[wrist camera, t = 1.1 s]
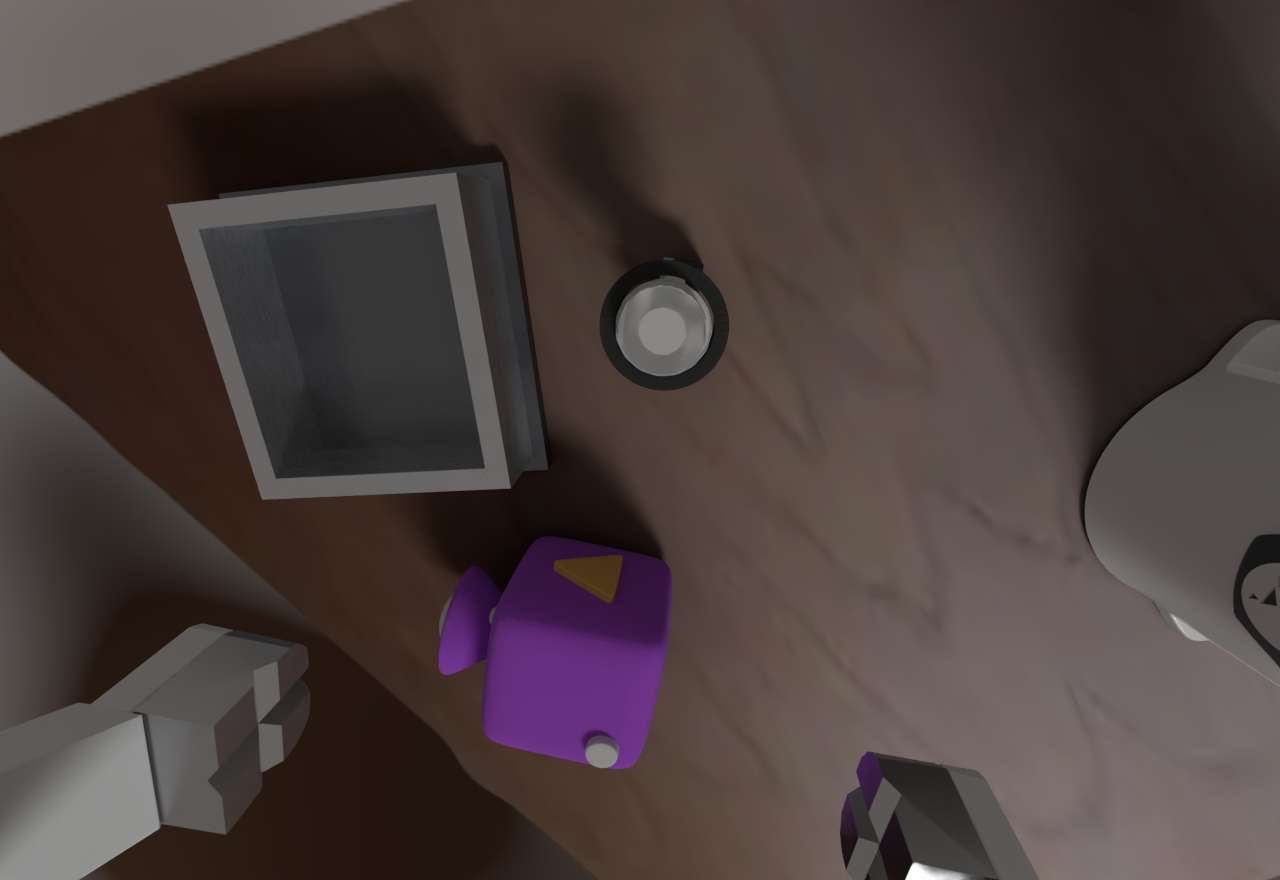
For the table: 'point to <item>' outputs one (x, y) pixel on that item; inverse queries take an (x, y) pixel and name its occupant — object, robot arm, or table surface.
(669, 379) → the push button
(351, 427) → the grey open box
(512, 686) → the toy camera
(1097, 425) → the table surface
